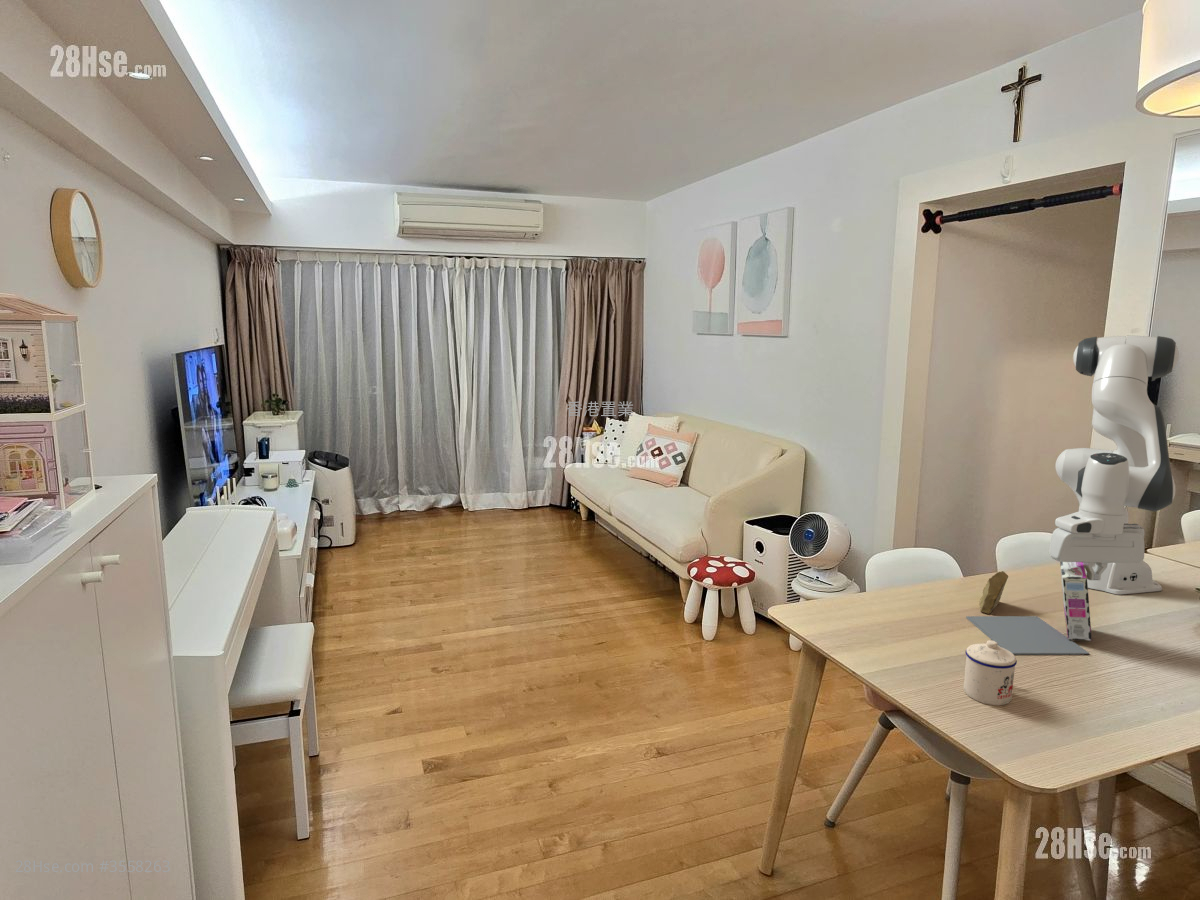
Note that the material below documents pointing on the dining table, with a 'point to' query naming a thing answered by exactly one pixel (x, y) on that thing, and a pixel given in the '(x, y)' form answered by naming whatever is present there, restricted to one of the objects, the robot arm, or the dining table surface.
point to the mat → (1026, 635)
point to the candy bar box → (1076, 601)
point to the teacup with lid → (989, 673)
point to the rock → (993, 592)
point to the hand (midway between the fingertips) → (1092, 579)
